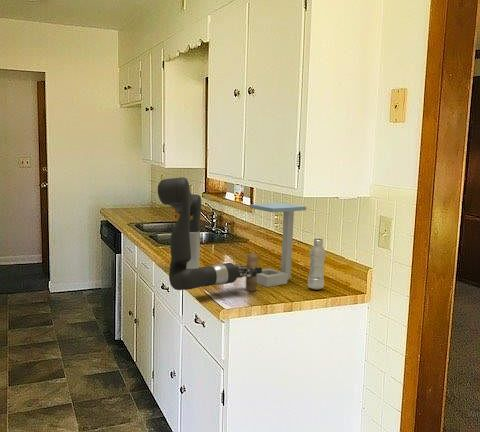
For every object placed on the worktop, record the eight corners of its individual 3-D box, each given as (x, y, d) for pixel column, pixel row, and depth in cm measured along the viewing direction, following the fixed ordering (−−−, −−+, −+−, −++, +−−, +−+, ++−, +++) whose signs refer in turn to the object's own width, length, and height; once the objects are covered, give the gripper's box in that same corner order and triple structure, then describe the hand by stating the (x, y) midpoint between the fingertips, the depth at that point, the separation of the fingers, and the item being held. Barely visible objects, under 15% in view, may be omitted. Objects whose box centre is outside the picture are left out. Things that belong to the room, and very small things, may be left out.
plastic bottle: (320, 286, 211) (323, 237, 208) (326, 291, 204) (329, 241, 202) (305, 286, 210) (307, 237, 207) (310, 291, 203) (313, 240, 200)
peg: (244, 288, 204) (246, 253, 202) (254, 288, 205) (256, 253, 203) (247, 291, 200) (248, 255, 198) (257, 291, 201) (259, 255, 199)
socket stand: (269, 287, 206) (272, 208, 202) (247, 279, 217) (250, 204, 213) (302, 281, 217) (306, 206, 213) (279, 274, 228) (283, 202, 224)
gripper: (233, 268, 186) (270, 263, 197) (210, 260, 198) (246, 255, 208) (232, 288, 187) (269, 282, 198) (210, 279, 199) (245, 274, 209)
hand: (257, 268), depth 203 cm, fingers closed on peg, 4 cm apart
